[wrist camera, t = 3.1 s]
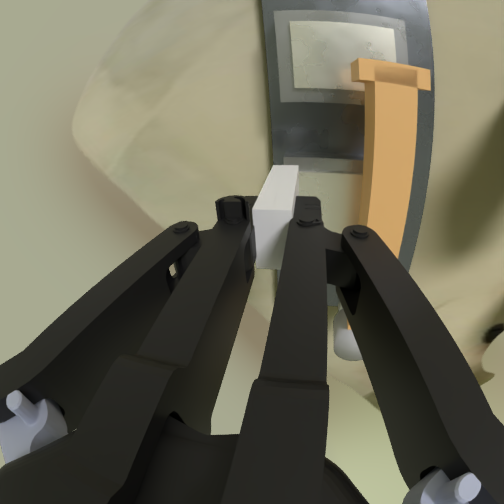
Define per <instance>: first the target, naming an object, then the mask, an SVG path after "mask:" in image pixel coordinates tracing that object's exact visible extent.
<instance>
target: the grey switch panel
mask: <svg viewBox="0 0 504 504" xmlns="http://www.w3.org/2000/svg"><path fill="white" fill-rule="evenodd" d="M262 10H263V21H264V32H265V44H266V56H267V69H268V82H269V97H270V112H271V128H272V146H273V165H299V196H316V197H317V198H318V199H319V200H321V212H322V221H323V223H324V227H325V228H326V229H328V230H330V231H332V232H336V233H340V234H342V231H343V229H344V228H345V227H347V226H351V225H358V221H359V212H360V202H361V191H362V178H363V161H364V136H365V88H364V83H361V82H351V64H350V63H352V62H353V61H354V60H356V59H357V58H365V59H374V60H381V61H388V62H394V63H400V64H405V65H410V66H415V67H420V68H424V69H429V70H430V81H431V91H427V90H418V107H417V133H416V148H415V159H414V169H413V177H412V185H411V192H410V199H409V205H408V211H407V217H406V222H405V227H404V232H403V237H402V242H401V247H400V251H399V255H398V260H399V261H400V263H401V264H402V265H403V267H404V268H405V269H406V271H407V272H409V269H410V265H411V261H412V258H413V254H414V250H415V246H416V242H417V237H418V233H419V229H420V224H421V219H422V214H423V209H424V203H425V198H426V192H427V185H428V178H429V171H430V162H431V153H432V142H433V128H434V61H433V48H432V37H431V29H430V22H429V15H428V9H427V3H426V0H262ZM280 271H281V270H278V269H277V277H278V282H279V276H280ZM327 306H338V312H339V311H340V310H342V309H343V308H342V305H341V303H340V300H339V298H338V296H337V293H336V286H335V285H331V284H327Z"/></svg>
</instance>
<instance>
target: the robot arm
mask: <svg viewBox="0 0 504 504" xmlns="http://www.w3.org/2000/svg"><path fill="white" fill-rule="evenodd" d="M215 204H216V211H217V218H218V221H217V223H216V224H215V226H214V227H213V229H210V230H204V231H199V230H198V225H197V224H196V223H194V222H188V221H183V222H182V221H181V222H178V223H176V224H174V225H172V226H170V227H168V228H167V229H166V230H164V231H163V232H162V233H160V234H159V235H158V236H156V237H155V238H154V239H152V240H151V241H150V242H149V243H147V244H146V245H145V246H143V247H142V248H141V249H139V250H138V251H137V252H135V253H134V254H133V255H132V256H131V257H129V258H128V259H127V260H125V261H124V262H123V263H122V264H120V265H119V266H118V267H117V268H115V269H114V270H113V271H112V272H110V273H109V274H108V275H107V276H106V277H104V278H103V279H102V280H101V281H100V282H98V283H97V284H96V285H95V286H94V287H92V288H91V289H90V290H89V291H88V292H86V293H85V294H84V295H83V296H82V297H81V298H80V299H79V300H77V301H76V302H75V303H74V304H73V305H72V306H70V307H69V308H68V309H67V310H66V311H65V312H64V313H63V314H62V315H60V316H59V317H58V318H57V319H56V320H55V321H54V322H53V323H52V324H51V325H50V326H48V327H47V328H46V329H45V330H44V331H43V332H42V333H41V334H40V335H39V336H38V337H37V338H36V339H35V340H34V341H33V342H32V343H31V344H30V345H29V346H28V347H27V348H26V349H25V350H24V351H22V352H21V353H19V354H17V355H16V356H14V357H13V358H11V359H9V360H8V361H6V362H5V363H3V364H1V365H0V445H1V449H2V452H3V456H4V460H5V463H6V464H5V465H4V466H3V467H2V468H1V469H0V504H369V503H368V502H367V501H366V499H365V498H364V497H363V496H362V494H361V493H360V492H359V490H358V489H357V488H356V487H355V485H354V484H353V483H352V482H351V480H350V479H349V478H348V476H347V475H346V474H345V473H344V472H343V471H342V470H341V469H340V468H339V467H338V466H337V465H336V464H335V463H333V462H332V461H330V460H329V459H328V458H326V457H325V451H326V439H327V427H328V411H329V385H327V382H326V376H327V284H331V285H335V286H336V293H337V296H338V298H339V300H340V303H341V305H342V308H343V310H344V312H345V315H346V317H347V320H348V322H349V325H350V327H351V330H352V332H353V335H354V338H355V340H356V343H357V345H358V348H359V351H360V353H361V356H362V359H363V361H364V364H365V367H366V369H367V372H368V375H369V378H370V381H371V384H372V386H373V389H374V392H375V395H376V398H377V401H378V404H379V407H380V410H381V413H382V416H383V419H384V422H385V426H386V429H387V432H388V435H389V438H390V442H391V445H392V449H393V452H394V455H395V458H396V461H397V464H398V467H399V470H400V473H401V475H402V477H403V479H404V481H405V483H406V485H407V486H408V488H409V489H410V491H409V492H408V493H407V494H406V496H405V498H404V500H403V503H402V504H504V426H503V424H502V423H501V422H500V421H499V420H498V419H497V418H496V416H495V415H494V414H493V413H492V410H491V408H490V406H489V404H488V402H487V400H486V398H485V396H484V394H483V391H482V390H481V388H480V386H479V384H478V382H477V380H476V378H475V376H474V374H473V372H472V370H471V369H470V367H469V365H468V363H467V361H466V360H465V358H464V356H463V354H462V353H461V351H460V349H459V348H458V346H457V344H456V343H455V341H454V339H453V338H452V336H451V334H450V333H449V331H448V330H447V328H446V327H445V325H444V323H443V322H442V320H441V319H440V317H439V316H438V314H437V313H436V311H435V310H434V308H433V307H432V305H431V304H430V302H429V301H428V300H427V298H426V297H425V295H424V294H423V292H422V291H421V290H420V288H419V287H418V285H417V284H416V283H415V281H414V280H413V279H412V277H411V276H410V275H409V273H408V272H407V271H406V269H405V268H404V267H403V265H402V264H401V263H400V261H399V260H398V259H397V258H396V256H395V255H394V254H393V253H392V251H391V250H390V249H389V248H388V246H387V245H386V244H385V243H384V241H383V240H382V239H381V238H380V237H379V235H378V234H377V233H376V232H375V231H374V230H373V229H371V228H369V227H367V226H364V225H363V226H362V225H351V226H347V227H345V228H344V229H343V231H342V234H340V233H336V232H332V231H330V230H328V229H326V228H325V227H324V223H323V221H322V212H321V200H319V199H318V198H317V197H316V196H299V165H273V167H272V169H271V171H270V173H269V175H268V177H267V179H266V181H265V183H264V185H263V187H262V189H261V192H260V194H259V196H245V197H244V196H237V195H234V196H227V197H223V198H220V199H218V200H217V201H215ZM255 260H256V267H257V268H259V269H278V270H281V271H280V276H279V282H278V287H277V292H276V297H275V302H274V307H273V312H272V317H271V322H270V327H269V332H268V337H267V342H266V346H265V351H264V356H263V360H262V365H261V370H260V374H259V377H258V379H256V380H254V382H253V384H252V387H251V391H250V394H249V398H248V402H247V406H246V410H245V415H244V418H243V422H242V426H241V430H240V434H229V435H211V416H212V412H213V409H214V406H215V403H216V399H217V396H218V393H219V390H220V387H221V383H222V380H223V377H224V374H225V370H226V367H227V364H228V361H229V358H230V354H231V351H232V347H233V344H234V341H235V338H236V334H237V331H238V328H239V325H240V321H241V318H242V315H243V312H244V308H245V305H246V302H247V298H248V295H249V292H250V289H251V285H252V282H253V279H254V263H255ZM173 263H174V267H175V270H176V273H175V274H174V275H173V276H171V274H170V271H169V267H170V266H171V265H172V264H173ZM75 429H76V430H75ZM74 430H75V431H74ZM72 431H73V432H72Z"/></svg>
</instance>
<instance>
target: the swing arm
mask: <svg viewBox="0 0 504 504" xmlns="http://www.w3.org/2000/svg"><path fill="white" fill-rule="evenodd" d="M350 64H351V82H361V83H364V88H365V136H364V161H363V178H362V191H361V202H360V212H359V221H358V225H362V226H363V225H364V226H367V227H369V228H371V229H373V230H374V231H375V232H376V233H377V234H378V235H379V237H380V238H381V239H382V240H383V241H384V243H385V244H386V245H387V246H388V248H389V249H390V250H391V251H392V253H393V254H394V255H395V256H396V258H397V259H398V255H399V251H400V247H401V242H402V237H403V232H404V227H405V222H406V217H407V211H408V205H409V199H410V192H411V185H412V177H413V169H414V159H415V148H416V133H417V107H418V90H427V91H431V81H430V70H429V69H424V68H420V67H415V66H410V65H405V64H400V63H394V62H388V61H381V60H374V59H365V58H357V59H356V60H354V61H353V62H352V63H350ZM333 328H334V352H335V354H336V355H337V356H338V357H340V358H342V359H344V360H349V361H358V360H363V359H362V356H361V353H360V351H359V348H358V345H357V343H356V340H355V338H354V335H353V332H352V330H351V327H350V325H349V322H348V320H347V317H346V315H345V312H344V310H343V309H342V310H340V311H339V312H338V313H337V314H336V315H335V317H334V321H333Z"/></svg>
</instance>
